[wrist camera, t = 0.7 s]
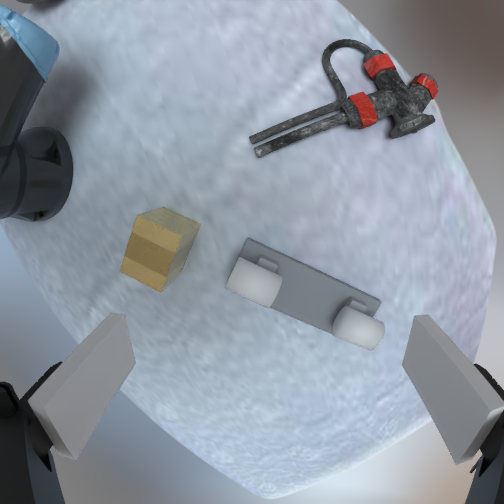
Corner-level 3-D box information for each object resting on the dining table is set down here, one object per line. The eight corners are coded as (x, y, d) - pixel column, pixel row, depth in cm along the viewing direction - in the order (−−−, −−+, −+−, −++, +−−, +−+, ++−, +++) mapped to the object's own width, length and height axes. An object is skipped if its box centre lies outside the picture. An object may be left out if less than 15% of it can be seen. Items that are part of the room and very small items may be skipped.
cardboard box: (181, 270, 40) (160, 292, 32) (146, 253, 40) (120, 271, 32) (200, 224, 38) (181, 236, 31) (163, 206, 38) (137, 215, 30)
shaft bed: (226, 284, 40) (217, 304, 34) (248, 237, 38) (242, 250, 32) (353, 339, 41) (364, 365, 34) (379, 299, 39) (394, 320, 33)
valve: (394, 37, 31) (444, 126, 32) (230, 92, 37) (273, 189, 38) (404, 15, 25) (464, 113, 26) (217, 73, 31) (267, 185, 31)
